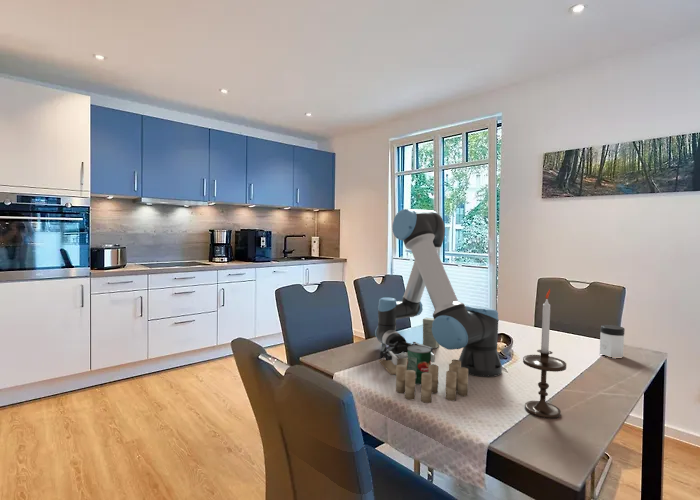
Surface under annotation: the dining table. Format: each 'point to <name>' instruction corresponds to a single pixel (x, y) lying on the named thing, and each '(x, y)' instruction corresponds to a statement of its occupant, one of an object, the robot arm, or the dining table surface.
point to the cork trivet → (391, 367)
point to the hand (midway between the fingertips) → (415, 359)
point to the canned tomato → (418, 361)
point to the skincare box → (429, 333)
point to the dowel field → (433, 382)
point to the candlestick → (544, 370)
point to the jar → (612, 340)
